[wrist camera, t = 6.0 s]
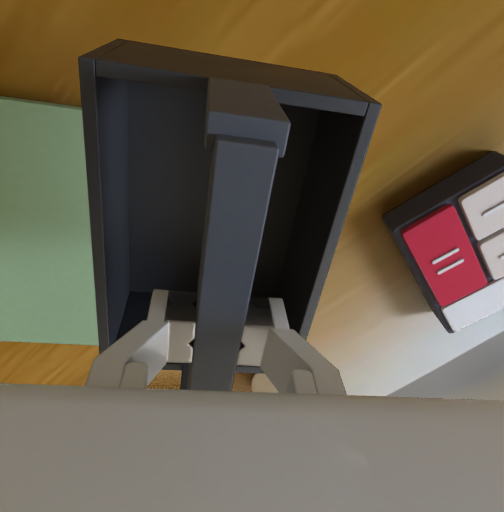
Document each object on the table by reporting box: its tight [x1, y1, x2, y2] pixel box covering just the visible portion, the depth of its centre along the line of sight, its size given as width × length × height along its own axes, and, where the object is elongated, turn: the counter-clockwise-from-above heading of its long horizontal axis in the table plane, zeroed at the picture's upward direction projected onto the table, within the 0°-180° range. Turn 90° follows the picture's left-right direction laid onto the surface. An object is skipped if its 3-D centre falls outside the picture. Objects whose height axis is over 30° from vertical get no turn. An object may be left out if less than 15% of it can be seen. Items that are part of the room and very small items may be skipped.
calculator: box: [383, 151, 504, 333], centre depth 37 cm, size 11×4×15 cm
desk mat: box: [0, 96, 99, 345], centre depth 34 cm, size 24×18×1 cm
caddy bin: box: [78, 39, 382, 391], centre depth 17 cm, size 14×10×11 cm
